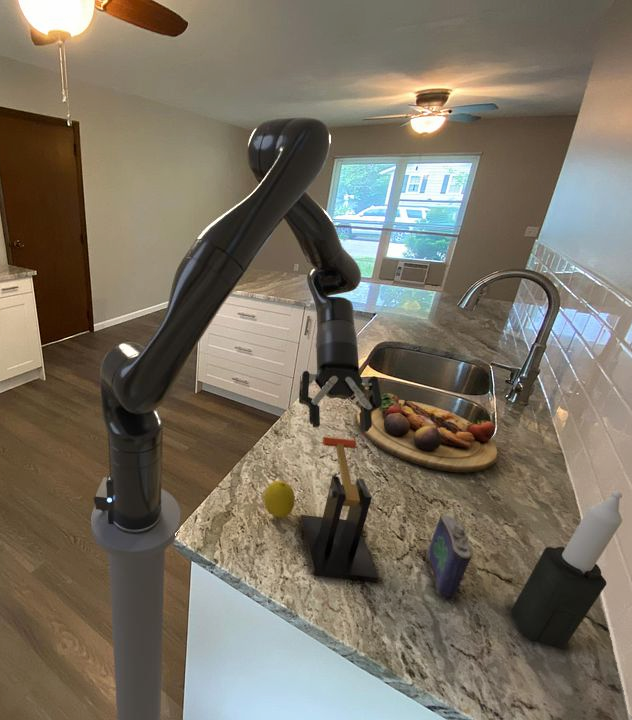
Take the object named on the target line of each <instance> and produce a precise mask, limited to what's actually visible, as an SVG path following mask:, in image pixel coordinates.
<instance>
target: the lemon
mask: <svg viewBox="0 0 632 720" xmlns="http://www.w3.org/2000/svg"><path fill="white" fill-rule="evenodd" d="M263 500H264V507H265V509H266V510H267V512H268V513H269V514H270V515H272V516H273V517H276V518H285V517H287V516H288V515H290V514H291V513H292V511H293V509H294V506H295V492H294V489H293V488H292V486H291V485H290V484H289V483H288V482H286V481H283V480H275V481H273V482H271V483H270V484H269V485H268V486H267V488H266V489H265V493H264V496H263Z"/></svg>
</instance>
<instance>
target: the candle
mask: <svg viewBox="0 0 632 720" xmlns="http://www.w3.org/2000/svg"><path fill="white" fill-rule="evenodd" d="M622 498H623V495H622V493H621V492H619V491H612V492H611V496H609V497H608V498H606V499H605V500H603V501H601V502H599V503H595V504H592V505H590V506H588V509H587V510H586V511H585V513H584V515H583V517H582V518H581V520H580V522H579V524H578V525H577V527H576V529H575V530H574V532H573V534H572V536H571V538H570V539H569V542H568V543H567V545H566V546H565V547H564V546H557V547H552V546H547V547H545V548H544V549H543V551H542V553H541V555H540V556H539V559H538V560H537V562H536V564H535V566H534V568H533V570H532V571H531V573H530V574H529V576H528V579H527V580H526V581H525V584H524V586H523V588H522V590H521V591H520V593H519V594H518V597H517V598H516V600H515V602H514V604H513V605H512V608H511V614H512V615H513V618H514V620H515V622H516V624H517V626H518V628H519V630H520V632H521V633H522V634H523V636H524V637H525V638H527V639H529V640H530V641H533V642H539V643H543V644H545V645H546V644H547V645H549V646H553V647H555V648H557V649H565V647H566V646H567V645H568V643H569V642H570V640H571V638H572V637H573V635H574V634H575V632H576V631H577V629H578V628H579V626H580V625H581V623H582V622H583V620H584V619H585V617H586V616H587V615H588V613H589V611H590V610H591V609H592V608H593V605H594V604H595V602H596V601H597V600H598V598H599V597H600V595H601V593H602V592H603V590H604V589H605V587H606V586H607V580H606V579H605V577H604V576H603V575H602V570H601V567H599V565H598V564H597V562H598V561H599V559H600V558H601V556H602V554H603V553H604V551H605V550H606V549H607V546H608V545H609V544H610V542H611V540H612V539H613V537H614V535H616V532H617V531H618V529H619V528H620V526H621V525H622V522H623V518H622V516H621V513H620V499H622Z"/></svg>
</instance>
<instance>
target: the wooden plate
mask: <svg viewBox="0 0 632 720" xmlns="http://www.w3.org/2000/svg"><path fill="white" fill-rule="evenodd" d="M381 402H382V406H381V407H379V408H377V409H376V410H372V411H371V420H372V426H371V428H370V429H369V431H367V432H361V433H362V434H363V435H364V436H365V437H366V438H367V440H369V441H370V442H371V443H373V444H374V445H375V446H377V447H379V448H380V449H382V450H384V452H387V453H388V454H390V455H392V456H394V457H397V458H399V459H401V460H403V461H407V462H409V463H412V464H415V465H418V466H422V467H424V468H428V469H432V470H437V471H443V472H450V473H472V472H473V473H475V472H480V471H483V470H486V469H488V468H490V467H492V466H493V465H494V464H495V463H496V462H497V460H498V456H499V451H498V448H497V445H496V443H495V442H494V440H493V439H492V437H493V436H494V433H495V430H496V427H495V424H494V423H493V422H492V421H489V420H482V419H480V420H478V419H477V420H476V421H473V420H471V422H470V421H469V420H467V419H465V418H463V417H462V416H459V415H457V414H455V413H454V412H451V411H449V410H444V409H443V408H439V407H436V406H433V405H429V404H425V403H421V402H417V401H411V400H408V399H405V400H404V399H399V397H398V395H397V394H394V393H389V392H388V393H386V392H384V393H381ZM360 412H361V411H360V410H359V409H357V411H356V414H355V422H356V425H357V427H358V429H359V430H360V416H359V413H360Z"/></svg>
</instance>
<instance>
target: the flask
mask: <svg viewBox="0 0 632 720" xmlns="http://www.w3.org/2000/svg"><path fill="white" fill-rule="evenodd" d="M469 531H470V529H469V528H468V527H467V525H466V526H462V525H460V524H459V523H458V522H457V521H456V519H455V518H453V517H452V516H450V515H447V514H442V515H439V518H438V522H437V524H436V526H435V529H434V533H433V535H432V538H431V540H430V543H429V545H428V547H427V549H426V551H425V557H426V561H427V562H428V565H429V571H430V573H431V574H432V576H433V577H434V578H433V581H434V582H435V587H436V592H437V593H438V595H439V596H440V597H442V599H443V600H447V601H454V600H455V598H456V597H457V592H458V589H459V587H460V585H461V582H462V580H463V577H464V574H465V573H466V570H467V569H468V565H469V564H470V561H471V559H472V553H471V547H470V544H469V541H468V538H467V536H466V533H465V532H467V533H468V532H469Z"/></svg>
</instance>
